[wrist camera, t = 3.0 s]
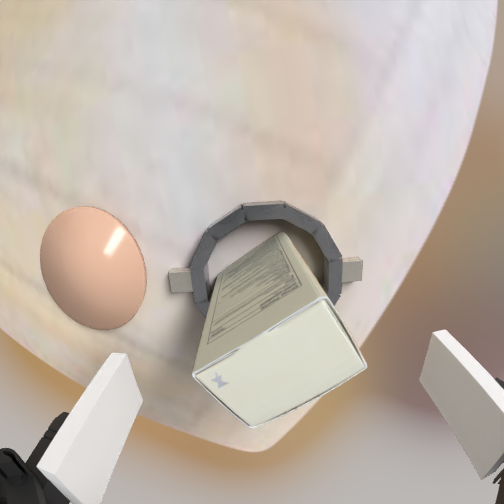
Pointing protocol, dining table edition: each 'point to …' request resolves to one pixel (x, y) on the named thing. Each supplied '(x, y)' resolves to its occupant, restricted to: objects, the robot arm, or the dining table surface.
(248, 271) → the skincare box
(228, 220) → the bayonet collar
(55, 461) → the robot arm
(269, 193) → the dining table surface
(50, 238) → the peach dome button
